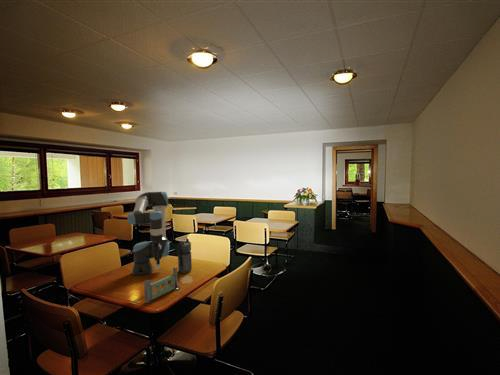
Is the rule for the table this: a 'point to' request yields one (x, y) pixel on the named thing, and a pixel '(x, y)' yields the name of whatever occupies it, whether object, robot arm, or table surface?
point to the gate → (166, 288)
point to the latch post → (147, 291)
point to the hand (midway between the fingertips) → (157, 268)
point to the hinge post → (175, 279)
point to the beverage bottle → (184, 257)
